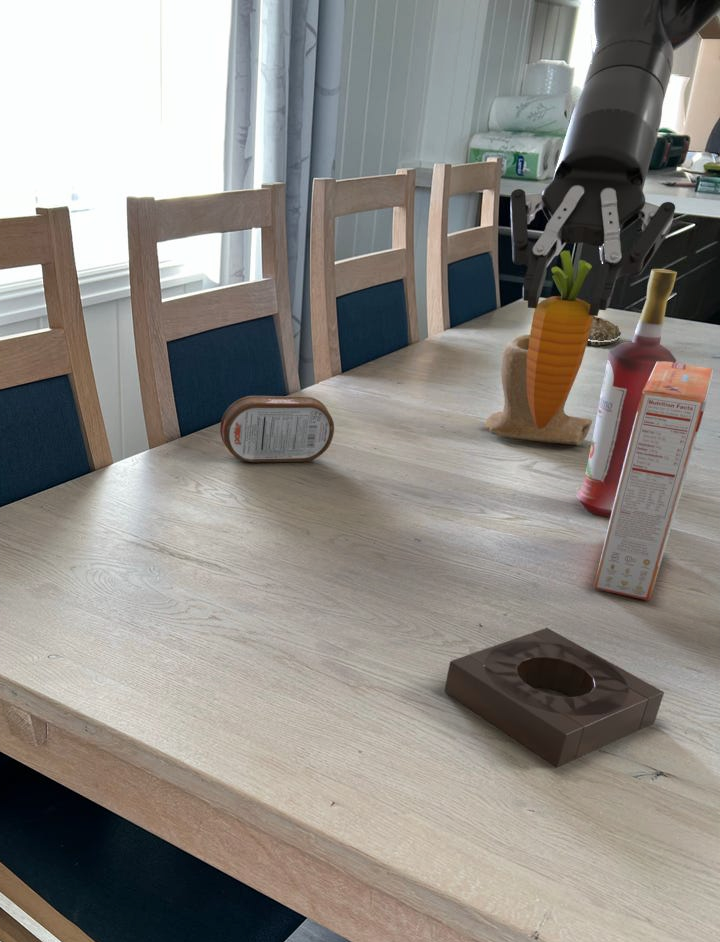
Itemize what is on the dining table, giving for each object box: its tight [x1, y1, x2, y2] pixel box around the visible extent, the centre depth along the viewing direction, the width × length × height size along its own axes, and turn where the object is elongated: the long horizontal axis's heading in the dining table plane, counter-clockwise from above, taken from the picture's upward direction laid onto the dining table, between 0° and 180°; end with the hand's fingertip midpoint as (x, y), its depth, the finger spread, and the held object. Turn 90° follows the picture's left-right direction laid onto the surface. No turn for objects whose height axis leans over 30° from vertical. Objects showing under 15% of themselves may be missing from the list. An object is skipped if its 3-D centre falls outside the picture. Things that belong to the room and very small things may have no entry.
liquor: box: [576, 268, 678, 517], centre depth 114 cm, size 7×7×28 cm
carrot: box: [526, 250, 593, 429], centre depth 84 cm, size 5×5×15 cm
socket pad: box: [444, 627, 665, 768], centre depth 79 cm, size 12×12×3 cm
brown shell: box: [586, 316, 622, 347], centre depth 208 cm, size 13×12×5 cm
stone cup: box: [484, 334, 593, 446], centre depth 140 cm, size 15×12×15 cm
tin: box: [219, 395, 335, 463], centre depth 127 cm, size 15×3×8 cm, turn 102°
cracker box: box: [593, 361, 714, 601], centre depth 100 cm, size 14×6×21 cm, turn 154°
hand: (563, 305), depth 81 cm, fingers closed on carrot, 4 cm apart
